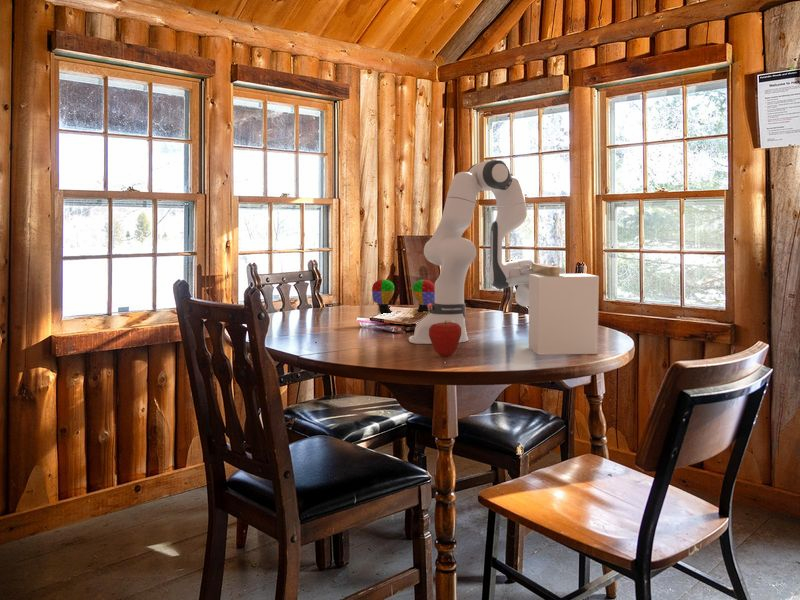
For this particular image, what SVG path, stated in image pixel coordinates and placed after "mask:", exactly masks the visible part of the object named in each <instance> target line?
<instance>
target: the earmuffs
mask: <svg viewBox="0 0 800 600" xmlns="http://www.w3.org/2000/svg"><path fill="white" fill-rule="evenodd" d="M394 284H395V283H393V282H392V281H391V280H388V279H385V278H383V279H378V280H375V282H373V284H372V285H371V286H372V287H371V294H372V301H373V302H374V303H377V304H378V309H379V313H380V315H381V314H383V313H391V312H393V311H392V310H391V308H390V306H389V301H391V299H392V298H393V296H394V293H395V285H394ZM412 293H413V296H414V297H415V299H416V300H417V302H418V305H419V306H418V308H417V310H416V311H418V312H423V311H428V312H429V308H428V305H429V303H431V304H433V303H435V283H434V282H432V281H431V280H429V279H419V280H417V281H416V282H414V284H413V285H412Z"/></svg>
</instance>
